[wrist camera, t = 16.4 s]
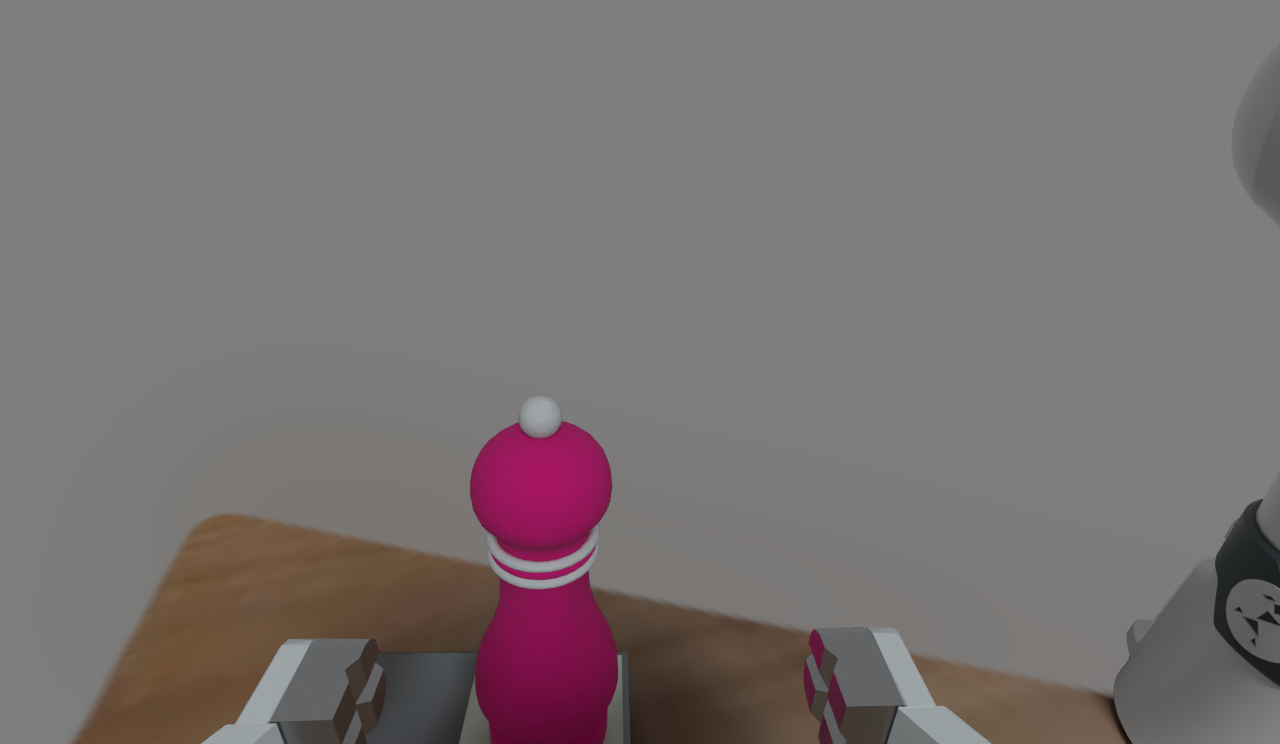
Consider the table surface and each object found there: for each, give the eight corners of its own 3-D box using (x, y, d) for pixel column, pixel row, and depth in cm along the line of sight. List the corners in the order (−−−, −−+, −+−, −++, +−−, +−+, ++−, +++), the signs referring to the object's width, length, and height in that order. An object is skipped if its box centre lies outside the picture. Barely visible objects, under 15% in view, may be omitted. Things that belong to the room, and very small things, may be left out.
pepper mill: (533, 649, 37) (520, 349, 29) (638, 700, 34) (658, 384, 26) (451, 752, 31) (404, 412, 23) (569, 824, 29) (566, 468, 20)
